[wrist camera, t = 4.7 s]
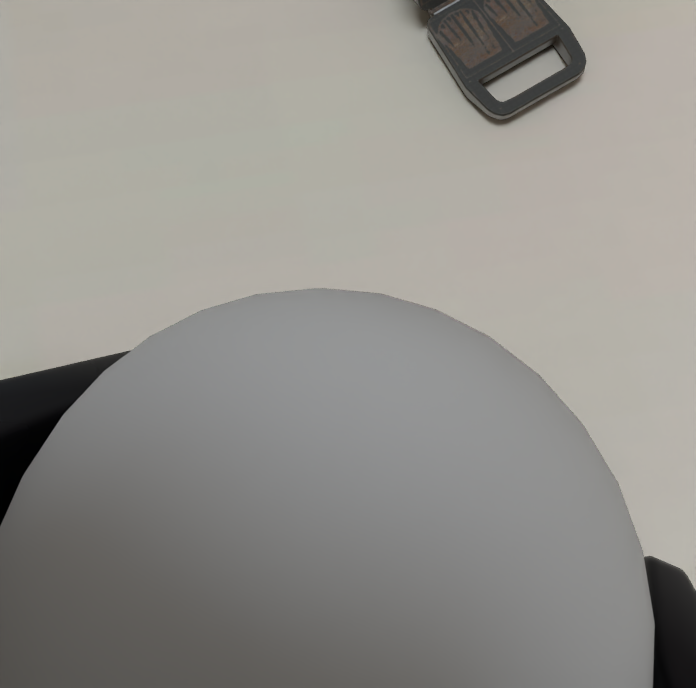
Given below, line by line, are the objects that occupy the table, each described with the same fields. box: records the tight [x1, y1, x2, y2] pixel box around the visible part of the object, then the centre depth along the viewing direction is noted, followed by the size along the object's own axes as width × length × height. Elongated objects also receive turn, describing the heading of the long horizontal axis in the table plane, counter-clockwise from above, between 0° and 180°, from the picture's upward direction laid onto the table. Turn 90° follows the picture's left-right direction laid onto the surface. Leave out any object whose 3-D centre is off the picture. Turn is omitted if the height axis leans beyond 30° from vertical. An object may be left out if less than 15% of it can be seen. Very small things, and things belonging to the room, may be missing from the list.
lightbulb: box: [0, 288, 655, 688], centre depth 9 cm, size 6×6×11 cm
